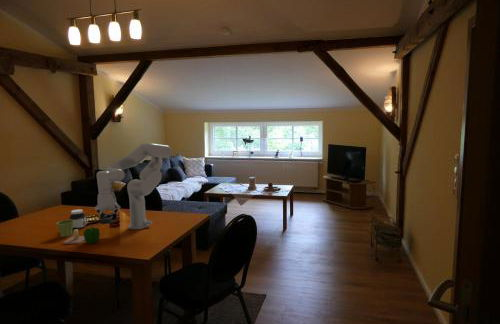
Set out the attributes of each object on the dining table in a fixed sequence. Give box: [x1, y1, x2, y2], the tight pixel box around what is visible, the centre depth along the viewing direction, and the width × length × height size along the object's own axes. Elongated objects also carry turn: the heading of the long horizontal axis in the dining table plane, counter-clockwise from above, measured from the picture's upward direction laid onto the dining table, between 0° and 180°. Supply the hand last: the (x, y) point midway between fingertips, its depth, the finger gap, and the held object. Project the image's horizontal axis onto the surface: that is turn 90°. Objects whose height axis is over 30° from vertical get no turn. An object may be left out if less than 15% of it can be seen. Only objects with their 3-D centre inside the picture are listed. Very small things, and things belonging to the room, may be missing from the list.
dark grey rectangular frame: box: [99, 213, 118, 225], centre depth 200 cm, size 6×8×3 cm
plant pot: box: [56, 219, 74, 238], centre depth 201 cm, size 9×9×9 cm
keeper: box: [62, 229, 86, 245], centre depth 192 cm, size 10×10×6 cm
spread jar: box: [68, 209, 87, 230], centre depth 216 cm, size 12×11×12 cm
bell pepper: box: [83, 224, 100, 245], centre depth 189 cm, size 8×8×10 cm
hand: (108, 219), depth 200 cm, fingers closed on dark grey rectangular frame, 6 cm apart
